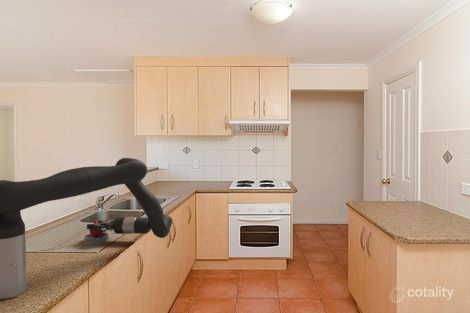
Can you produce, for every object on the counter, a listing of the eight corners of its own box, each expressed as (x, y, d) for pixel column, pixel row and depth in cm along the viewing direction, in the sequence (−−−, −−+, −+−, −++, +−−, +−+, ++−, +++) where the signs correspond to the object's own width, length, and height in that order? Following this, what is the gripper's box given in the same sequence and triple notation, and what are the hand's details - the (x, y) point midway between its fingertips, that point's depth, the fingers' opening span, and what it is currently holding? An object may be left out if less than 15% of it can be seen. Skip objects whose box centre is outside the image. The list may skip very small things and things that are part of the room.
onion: (92, 237, 148) (92, 219, 148) (105, 236, 149) (105, 219, 149) (87, 240, 142) (87, 222, 142) (101, 239, 143) (100, 221, 143)
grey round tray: (109, 242, 143) (109, 237, 143) (83, 245, 139) (83, 239, 139) (108, 236, 152) (108, 231, 152) (84, 238, 148) (84, 233, 148)
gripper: (133, 213, 151) (98, 213, 153) (119, 220, 137) (81, 220, 138) (133, 229, 151) (99, 228, 153) (120, 238, 137) (82, 237, 138)
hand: (91, 224), depth 145 cm, fingers closed on onion, 5 cm apart
